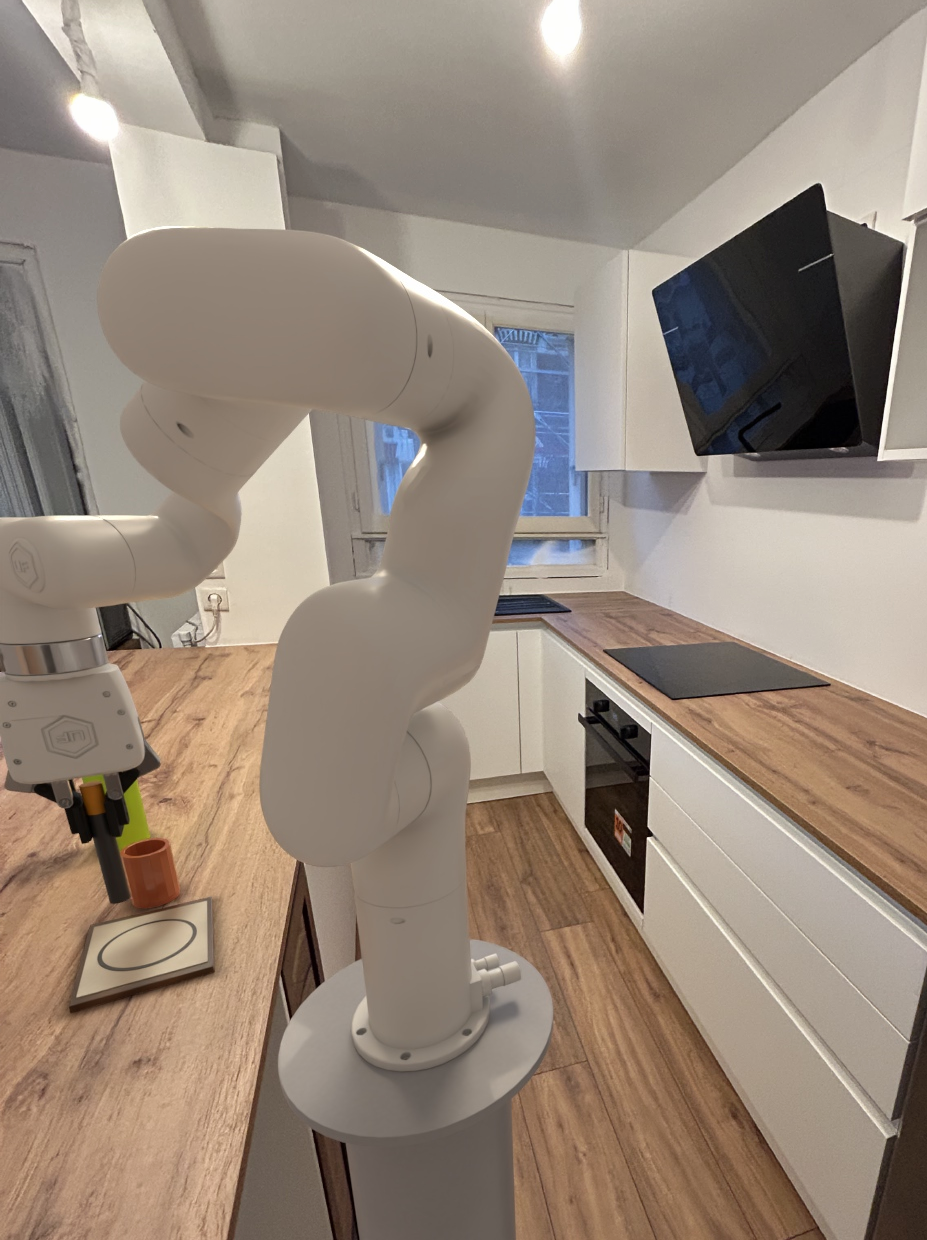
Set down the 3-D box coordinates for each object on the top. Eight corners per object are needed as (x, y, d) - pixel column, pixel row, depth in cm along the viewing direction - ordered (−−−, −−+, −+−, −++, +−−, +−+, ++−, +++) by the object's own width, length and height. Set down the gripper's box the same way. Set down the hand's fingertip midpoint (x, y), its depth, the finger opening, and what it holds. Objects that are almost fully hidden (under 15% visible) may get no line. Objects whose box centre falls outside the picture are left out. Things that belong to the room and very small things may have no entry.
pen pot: (181, 882, 84) (170, 834, 82) (179, 901, 80) (168, 851, 78) (134, 892, 82) (122, 843, 79) (130, 912, 78) (117, 861, 75)
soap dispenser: (155, 847, 92) (125, 714, 86) (96, 857, 89) (59, 720, 83) (162, 830, 97) (133, 703, 91) (105, 838, 94) (72, 708, 88)
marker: (131, 893, 69) (103, 779, 65) (129, 901, 67) (100, 785, 64) (111, 898, 68) (80, 782, 64) (108, 906, 66) (77, 788, 63)
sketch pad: (212, 901, 80) (211, 895, 80) (214, 972, 68) (213, 964, 68) (91, 930, 74) (89, 923, 74) (70, 1013, 62) (67, 1005, 62)
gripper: (-77, 674, 53) (-10, 872, 59) (156, 656, 61) (194, 831, 66) (-48, 658, 59) (10, 838, 65) (160, 643, 67) (195, 805, 72)
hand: (103, 833), depth 65 cm, fingers closed on marker, 1 cm apart
